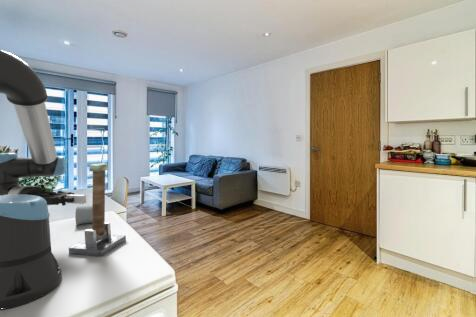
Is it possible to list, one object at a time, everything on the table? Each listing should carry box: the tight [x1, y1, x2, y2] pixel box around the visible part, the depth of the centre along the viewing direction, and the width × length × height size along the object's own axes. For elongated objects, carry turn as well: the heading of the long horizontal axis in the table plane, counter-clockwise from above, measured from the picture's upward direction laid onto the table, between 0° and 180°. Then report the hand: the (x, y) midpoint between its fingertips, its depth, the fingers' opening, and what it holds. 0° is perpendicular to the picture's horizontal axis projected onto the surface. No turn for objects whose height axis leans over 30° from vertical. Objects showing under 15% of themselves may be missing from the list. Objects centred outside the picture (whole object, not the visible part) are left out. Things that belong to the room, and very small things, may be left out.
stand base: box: [68, 222, 127, 257], centre depth 84 cm, size 12×12×7 cm
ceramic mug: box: [75, 205, 92, 226], centre depth 110 cm, size 11×8×8 cm
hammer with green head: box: [88, 162, 109, 241], centre depth 83 cm, size 5×4×26 cm
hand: (84, 199), depth 84 cm, fingers closed
